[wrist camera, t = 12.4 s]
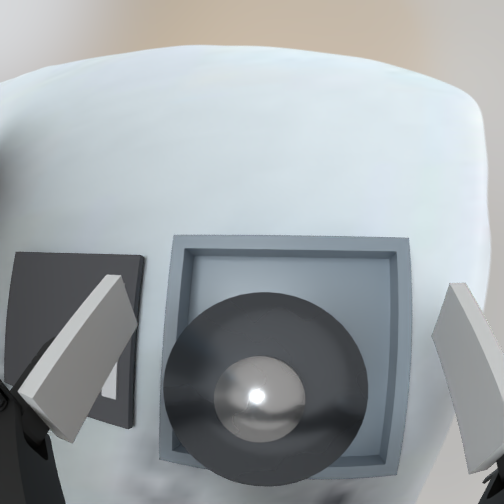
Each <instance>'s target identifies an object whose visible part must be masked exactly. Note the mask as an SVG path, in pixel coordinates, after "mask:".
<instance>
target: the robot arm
mask: <svg viewBox="0 0 504 504" xmlns="http://www.w3.org/2000/svg"><path fill="white" fill-rule="evenodd" d="M137 326H138V323H137V320H136V317H135V315H134V312H133V309H132V306H131V303H130V301H129V298H128V295H127V292H126V289H125V286H124V283H123V280H122V277H121V275H106V276H105V277H104V278H103V279H102V281H101V282H100V283H99V284H98V285H97V287H96V288H95V289H94V290H93V291H92V293H91V294H90V295H89V296H88V297H87V299H86V300H85V301H84V302H83V304H82V305H81V306H80V307H79V309H78V310H77V311H76V312H75V314H74V315H73V316H72V317H71V319H70V320H69V321H68V322H67V324H66V325H65V326H64V328H63V329H62V330H61V332H60V333H59V334H58V335H57V337H53V338H51V339H50V340H49V341H47V342H46V343H45V344H44V345H43V346H42V347H41V349H40V350H39V351H38V353H37V356H35V357H34V358H33V359H32V361H31V364H29V365H28V366H27V368H26V369H25V371H24V372H23V373H22V375H21V376H20V378H19V379H18V380H17V382H16V383H15V385H14V386H13V388H12V389H11V390H10V391H9V390H8V389H7V387H6V386H5V385H4V384H3V382H2V381H1V380H0V504H66V503H65V499H64V496H63V492H62V489H61V485H60V481H59V477H58V473H57V468H56V464H55V459H54V455H53V450H52V444H51V439H50V437H49V435H48V434H47V433H48V431H49V429H51V430H52V432H53V433H54V434H55V435H56V436H57V437H59V438H61V439H64V440H66V441H68V442H71V443H73V442H74V440H75V438H76V436H77V434H78V432H79V430H80V428H81V427H82V425H83V423H84V421H85V419H86V417H87V415H88V413H89V411H90V409H91V408H92V406H93V404H94V402H95V400H96V398H97V396H98V394H99V393H100V391H101V389H102V387H103V385H104V384H105V382H106V380H107V378H108V376H109V375H110V373H111V371H112V369H113V367H114V366H115V364H116V362H117V360H118V359H119V357H120V355H121V353H122V352H123V350H124V348H125V346H126V345H127V343H128V341H129V340H130V338H131V336H132V334H133V333H134V331H135V329H136V328H137ZM432 338H433V341H434V343H435V346H436V349H437V352H438V355H439V358H440V361H441V364H442V368H443V371H444V374H445V377H446V381H447V384H448V387H449V391H450V394H451V398H452V402H453V405H454V409H455V413H456V417H457V421H458V425H459V429H460V433H461V438H462V442H463V447H464V451H465V457H466V462H467V468H468V473H469V474H472V473H476V472H480V471H483V470H487V469H488V468H489V467H491V466H492V465H493V464H494V463H495V462H497V466H498V468H497V469H496V470H495V471H494V472H492V473H491V474H490V475H489V476H487V477H486V478H485V479H484V481H483V483H484V484H485V483H486V482H487V481H489V480H490V479H491V480H490V482H489V484H488V486H487V488H486V490H485V492H484V494H483V495H482V497H481V499H480V501H479V503H478V504H504V354H503V351H502V349H501V347H500V345H499V343H498V341H497V339H496V337H495V335H494V333H493V331H492V329H491V327H490V325H489V324H488V322H487V320H486V318H485V316H484V314H483V312H482V311H481V309H480V307H479V305H478V303H477V302H476V300H475V298H474V296H473V295H472V293H471V291H470V290H469V288H468V286H467V285H466V283H449V287H448V290H447V293H446V296H445V299H444V302H443V305H442V308H441V311H440V314H439V317H438V320H437V323H436V325H435V328H434V331H433V333H432Z"/></svg>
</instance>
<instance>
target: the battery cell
mask: <svg viewBox="0 0 504 504" xmlns="http://www.w3.org/2000/svg"><path fill="white" fill-rule="evenodd" d="M163 393H164V402H165V409H166V412H167V415H168V419H169V422H170V424H171V426H172V428H173V431H174V432H175V434H176V436H177V437H178V439H179V441H180V442H181V444H182V445H183V446H184V447H185V449H186V450H187V451H188V452H189V453H190V454H191V455H192V456H193V457H194V458H195V459H196V460H197V461H198V462H199V463H201V464H202V465H203V466H205V467H206V468H207V469H209V470H211V471H212V472H214V473H216V474H218V475H220V476H222V477H224V478H227V479H229V480H232V481H235V482H239V483H242V484H247V485H254V486H280V485H286V484H291V483H295V482H298V481H301V480H304V479H307V478H309V477H311V476H313V475H315V474H317V473H319V472H321V471H323V470H324V469H326V468H327V467H329V466H330V465H331V464H332V463H334V462H335V461H336V460H337V459H338V458H339V457H340V456H341V455H342V454H343V453H344V452H345V451H346V450H347V449H348V447H349V446H350V445H351V443H352V442H353V440H354V439H355V437H356V436H357V433H358V431H359V429H360V427H361V425H362V423H363V419H364V416H365V413H366V409H367V402H368V378H367V371H366V367H365V364H364V360H363V357H362V355H361V353H360V351H359V348H358V346H357V345H356V343H355V341H354V340H353V338H352V336H351V335H350V334H349V332H348V331H347V330H346V329H345V328H344V326H343V325H342V324H341V323H340V322H339V321H337V320H336V319H335V318H334V317H333V316H332V315H331V314H329V313H328V312H326V311H325V310H324V309H322V308H321V307H319V306H317V305H315V304H313V303H311V302H309V301H307V300H304V299H301V298H298V297H296V296H291V295H287V294H283V293H273V292H254V293H248V294H242V295H238V296H235V297H231V298H228V299H226V300H223V301H221V302H219V303H216V304H215V305H213V306H211V307H210V308H208V309H206V310H205V311H203V312H202V313H201V314H200V315H198V316H197V317H196V318H195V319H194V320H193V321H192V322H191V323H190V324H189V325H188V326H187V327H186V328H185V329H184V331H183V332H182V333H181V335H180V336H179V337H178V339H177V341H176V342H175V344H174V346H173V348H172V350H171V353H170V355H169V358H168V360H167V364H166V368H165V373H164V382H163Z"/></svg>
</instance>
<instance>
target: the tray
mask: <svg viewBox="0 0 504 504" xmlns="http://www.w3.org/2000/svg"><path fill="white" fill-rule="evenodd" d="M254 292H273V293H283V294H287V295H291V296H296V297H298V298H301V299H304V300H307V301H309V302H311V303H313V304H315V305H317V306H319V307H321V308H322V309H324V310H325V311H326V312H328V313H329V314H331V315H332V316H333V317H334V318H335V319H336V320H337V321H339V322H340V323H341V324H342V325H343V326H344V328H345V329H346V330H347V331H348V332H349V334H350V335H351V336H352V338H353V340H354V341H355V343H356V345H357V346H358V348H359V351H360V353H361V355H362V357H363V360H364V364H365V367H366V371H367V378H368V402H367V409H366V413H365V416H364V419H363V423H362V425H361V427H360V429H359V431H358V433H357V436H356V437H355V439H354V440H353V442H352V443H351V445H350V446H349V447H348V449H347V450H346V451H345V452H344V453H343V454H342V455H341V456H340V457H339V458H338V459H337V460H336V461H335V462H334V463H332V464H331V465H330V466H329V467H327V468H326V469H324V470H323V471H321V472H319V473H317V474H315V475H313V476H311V477H309V478H307V479H353V478H369V477H382V476H391V475H397V470H398V465H399V460H400V454H401V448H402V442H403V435H404V428H405V420H406V412H407V403H408V392H409V381H410V366H411V344H412V283H411V261H410V246H409V238H395V237H352V236H290V235H174V236H173V244H172V252H171V261H170V270H169V279H168V289H167V299H166V310H165V322H164V335H163V350H162V367H161V389H160V426H159V459H160V460H164V461H169V462H173V463H177V464H182V465H187V466H192V467H197V468H203V469H207V468H206V467H205V466H203V465H202V464H201V463H199V462H198V461H197V460H196V459H195V458H194V457H193V456H192V455H191V454H190V453H189V452H188V451H187V450H186V449H185V447H184V446H183V445H182V444H181V442H180V441H179V439H178V437H177V436H176V434H175V432H174V431H173V428H172V426H171V424H170V422H169V419H168V415H167V412H166V409H165V402H164V393H163V382H164V373H165V368H166V364H167V360H168V358H169V355H170V353H171V350H172V348H173V346H174V344H175V342H176V341H177V339H178V337H179V336H180V335H181V333H182V332H183V331H184V329H185V328H186V327H187V326H188V325H189V324H190V323H191V322H192V321H193V320H194V319H195V318H196V317H197V316H198V315H200V314H201V313H202V312H203V311H205V310H206V309H208V308H210V307H211V306H213V305H215V304H216V303H219V302H221V301H223V300H226V299H228V298H231V297H235V296H238V295H242V294H248V293H254ZM208 470H209V469H208Z"/></svg>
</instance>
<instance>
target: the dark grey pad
mask: <svg viewBox="0 0 504 504" xmlns="http://www.w3.org/2000/svg"><path fill="white" fill-rule="evenodd" d="M143 261H144V257H143V256H141V255H118V254H79V253H42V252H16V254H15V260H14V265H13V271H12V278H11V284H10V292H9V300H8V309H7V320H6V334H5V357H4V382H6V383H8V384H10V385H12V386H14V385H15V383H16V382H17V380H18V379H19V378H20V376H21V375H22V373H23V372H24V371H25V369H26V368H27V366H28V365H29V364H31V361H32V359H33V358H34V357H35V356H37V353H38V351H39V350H40V349H41V347H42V346H43V345H44V344H45V343H46V342H47V341H49V340H50V339H51V338H53V337H57V335H58V334H59V333H60V332H61V330H62V329H63V328H64V326H65V325H66V324H67V322H68V321H69V320H70V319H71V317H72V316H73V315H74V314H75V312H76V311H77V310H78V309H79V307H80V306H81V305H82V304H83V302H84V301H85V300H86V299H87V297H88V296H89V295H90V294H91V293H92V291H93V290H94V289H95V288H96V287H97V285H98V284H99V283H100V282H101V281H102V279H103V278H104V277H105V276H106V275H121V277H122V280H123V283H124V286H125V289H126V292H127V295H128V298H129V301H130V303H131V306H132V309H133V312H134V315H135V317H136V320H137V315H138V305H139V295H140V286H141V277H142V269H143ZM135 341H136V329H135V331H134V333H133V334H132V336H131V338H130V340H129V341H128V343H127V345H126V346H125V348H124V350H123V352H122V353H121V355H120V357H119V359H118V360H117V362H116V364H115V366H114V367H113V369H112V371H111V373H110V375H109V376H108V378H107V380H106V382H105V384H104V385H103V387H102V389H101V391H100V393H99V394H98V396H97V398H96V400H95V402H94V404H93V406H92V408H91V409H90V411H89V413H88V415H87V417H90V418H93V419H96V420H99V421H103V422H106V423H109V424H112V425H116V426H119V427H123V428H126V429H130V428H132V427H133V377H134V356H135Z"/></svg>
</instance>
